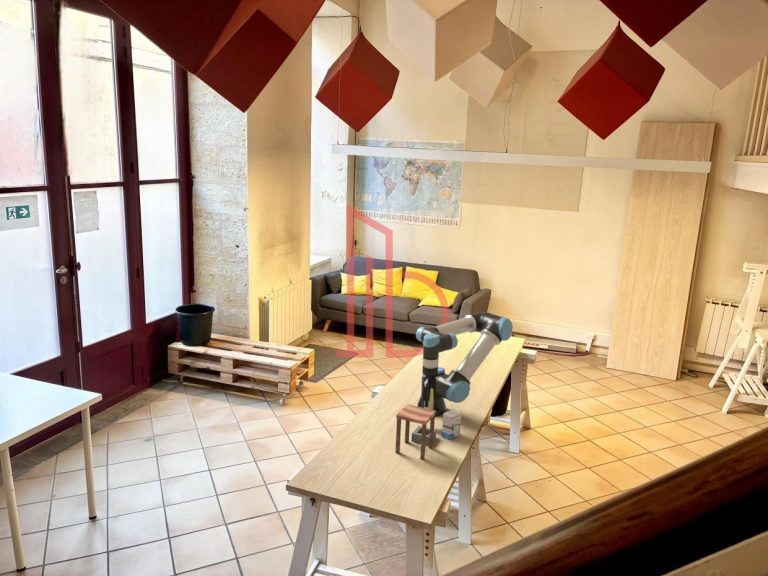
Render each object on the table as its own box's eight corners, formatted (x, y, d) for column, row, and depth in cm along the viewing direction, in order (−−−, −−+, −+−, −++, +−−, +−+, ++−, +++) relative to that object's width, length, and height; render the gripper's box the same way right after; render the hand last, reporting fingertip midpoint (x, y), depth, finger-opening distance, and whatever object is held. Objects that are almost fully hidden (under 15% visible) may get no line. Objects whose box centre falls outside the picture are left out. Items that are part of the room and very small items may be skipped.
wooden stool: (405, 440, 281) (407, 404, 277) (433, 447, 275) (435, 410, 271) (394, 452, 269) (396, 415, 265) (423, 460, 264) (425, 421, 260)
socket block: (418, 433, 289) (418, 425, 288) (435, 437, 285) (436, 429, 284) (411, 441, 281) (411, 433, 280) (429, 445, 277) (429, 437, 276)
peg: (425, 413, 297) (426, 386, 294) (433, 414, 295) (434, 388, 292) (423, 416, 293) (424, 389, 290) (430, 418, 292) (431, 391, 288)
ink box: (449, 440, 283) (450, 417, 280) (441, 436, 287) (442, 413, 284) (460, 434, 289) (462, 412, 286) (452, 431, 292) (453, 408, 290)
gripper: (429, 359, 297) (427, 402, 303) (416, 370, 282) (415, 416, 288) (443, 361, 294) (441, 405, 300) (431, 373, 279) (429, 419, 285)
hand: (428, 410), depth 294 cm, fingers closed on peg, 4 cm apart
